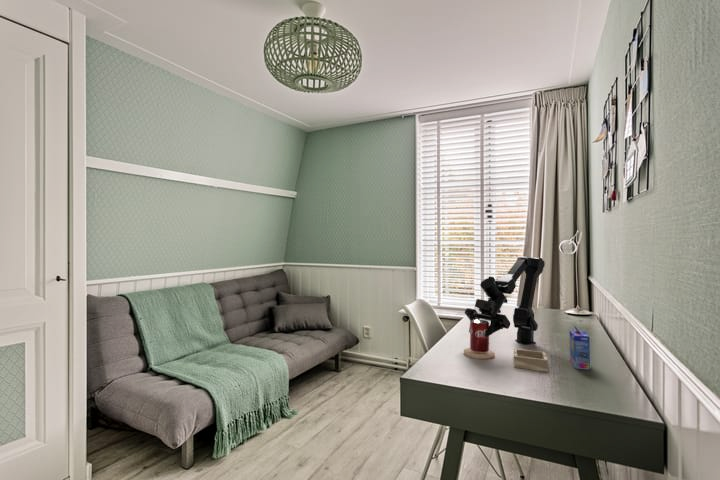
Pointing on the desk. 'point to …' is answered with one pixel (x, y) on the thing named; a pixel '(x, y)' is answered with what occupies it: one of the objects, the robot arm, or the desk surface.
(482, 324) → the soda can
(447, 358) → the desk surface
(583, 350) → the ink cartridge box
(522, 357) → the birch box
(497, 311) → the robot arm
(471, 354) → the coaster
